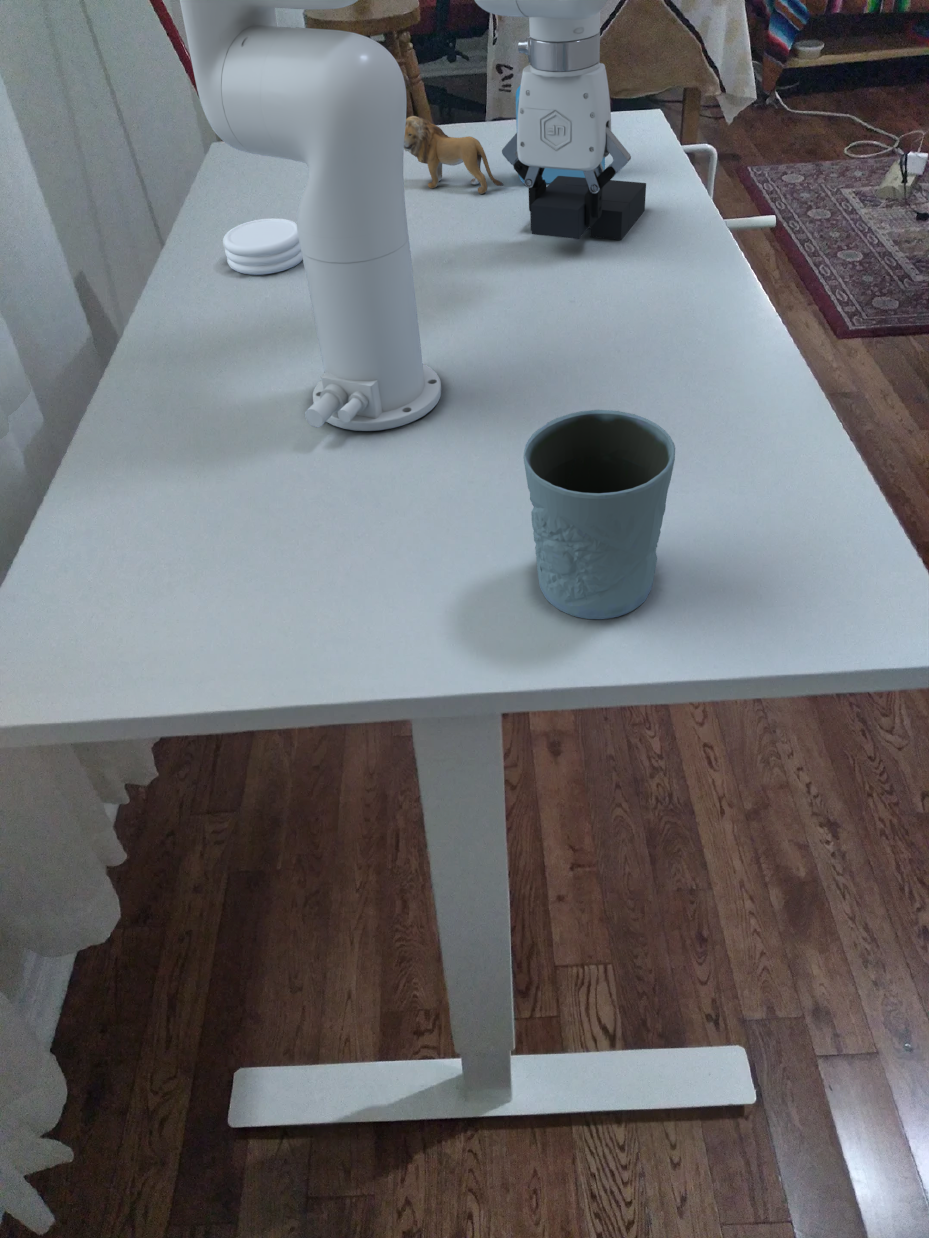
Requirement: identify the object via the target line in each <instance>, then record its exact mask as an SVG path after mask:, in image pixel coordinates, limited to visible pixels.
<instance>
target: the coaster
mask: <svg viewBox="0 0 929 1238" xmlns="http://www.w3.org/2000/svg"><path fill="white" fill-rule="evenodd" d="M222 245H223V248H224V254H225V256H226V257H227V258H226V262H227V265H228V266H229V267H230V269H232V270H233V271H235V272H236V273H237V272H238V273H240V274H245V275H253V276H262V275H263V276H264V275H271V274H276V273H281V272H283V271H286V270H289V269H291V268H294V267H296V266H298V265H299V264H300V263H301V262H303V257H302V252H301V248H300V242H299V237H298V230H297V221H294V220H292V219H286V218H275V217H274V218H272V217H270V218H261V219H260V218H259V219H255V220H250V221H247V222H244V223H241V224H238V225H236V226H234V227H233V228H231V229H230V230H228V231H227V232H226V233H225V235H224V236H223V238H222Z"/></svg>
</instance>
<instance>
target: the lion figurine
mask: <svg viewBox="0 0 929 1238" xmlns="http://www.w3.org/2000/svg"><path fill="white" fill-rule="evenodd" d="M404 152H408V153H409V154H410V155H412V156H414V157H415V158H417V161H418V162H419V163H421V164H425V165H427V169H428V171H429V175H430V177H431V181H430V182H428V183H427V187H428V188H429V189H435V188H437V187H438V185H439V182H440V181H442V179H443V165H446V166H452V167H453V166H458V165H461V164H462V163H463V165H464V166H465V168H466V170H467V171H468V173H469V174H470V175H471V176H473V177H474V178H472V179H471V180H470V184H471V185H476V186H477V185H479V184H480V186H479V187H478V188H477V193H478V194H480V195H483V194H485V193H486V192H488V183H487V180H486V179H487V178H486V176H485V174H484V173H483V172H482V170H481V165H482V162H483V165H484V168H485V171H486V173H487V175H488V177H489V179H490V181H491V182H492V183H493V184H494V185H495V186H496V187H503V186H504V182H502V181H500V180H499V179H497V178H495V177H494V176H493V173H492V171H491V168H490V165H489V162H488V157H487V154H486V152H485V150H484V147H483V145H482V144H481V142H480V141H479V140H478V139H477V138H475V137H473V136H463V137H453V136H448V134H446V133H445V132H444V130H443V129H442V128H441V127H440V126H438V125H436V124H435V123H431V122H430V121H429V119H426V118H423V117H421V116H417V115H410V116H408V117H406V125H405V138H404Z"/></svg>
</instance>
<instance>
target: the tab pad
mask: <svg viewBox="0 0 929 1238" xmlns="http://www.w3.org/2000/svg"><path fill="white" fill-rule="evenodd" d="M587 191H588V184H587V181H586V178H581V177H572V178H571V179H570V180H569V181H568V182H567V183H566V184H565V185H563V184H551V185H550V186H549V187H548V188H547V189H546V190H545V192H544V193H543V194H542V195H541V196H540V197H539V198H538V199H536V200H535V201H534V202H533V203H532V204H531V220H530V224H531V223H532V231H531V235H536V236H546V237H555V238H563V239H574V240H575V239H576V240H579V239H581V237H582V236H583V235H584V234H585V233H586V232H587V230H588V229H590V228H589V227H586V226H585V193H586V192H587Z"/></svg>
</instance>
